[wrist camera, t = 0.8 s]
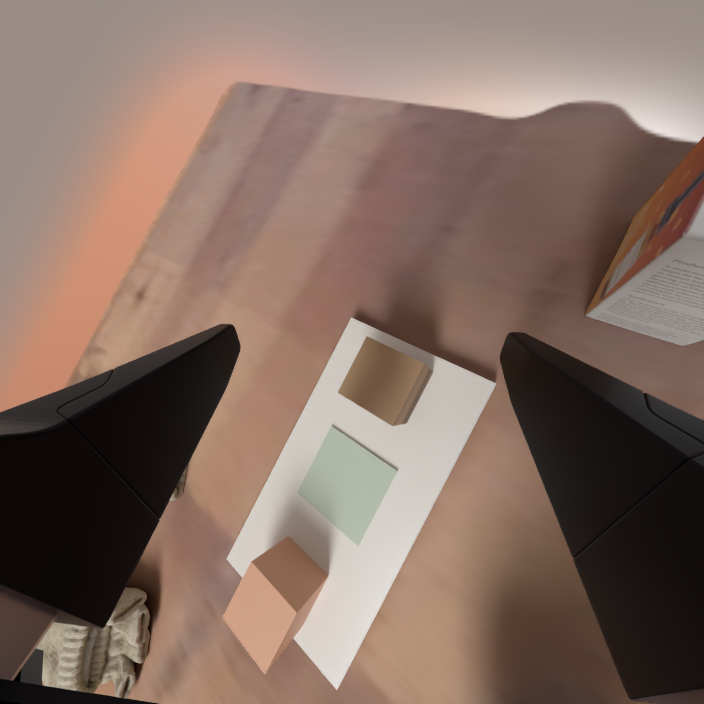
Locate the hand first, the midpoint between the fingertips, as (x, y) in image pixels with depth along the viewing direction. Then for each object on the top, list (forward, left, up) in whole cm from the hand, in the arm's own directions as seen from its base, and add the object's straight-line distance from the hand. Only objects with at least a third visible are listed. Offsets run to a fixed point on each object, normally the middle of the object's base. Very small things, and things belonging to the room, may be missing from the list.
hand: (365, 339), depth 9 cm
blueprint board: (-7, +8, -15) cm, 19 cm away
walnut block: (0, +2, -14) cm, 14 cm away
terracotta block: (-14, +13, -14) cm, 24 cm away
